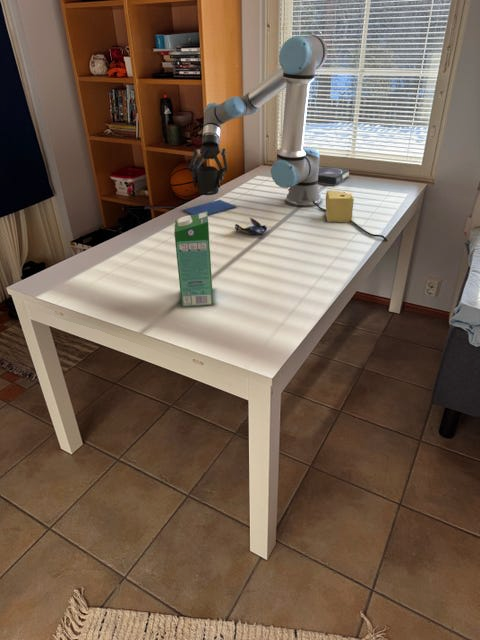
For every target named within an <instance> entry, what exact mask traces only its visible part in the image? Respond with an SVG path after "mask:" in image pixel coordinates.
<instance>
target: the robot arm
mask: <svg viewBox="0 0 480 640" xmlns="http://www.w3.org/2000/svg"><path fill="white" fill-rule="evenodd" d="M278 53H279V54H278V62H279V66H280V67H279V68H278V69H277V70H275V71H274V72H273V73H272V74H270V75H269V76H268V77H266V78H265V79H264V80H263V81H261V82H260V83H259V84H257V85H256V86H255V87H253V88H252V89H251V90H250V91H249V92H247V93H246V94H244V95H243V96H240V97H239V96H237V95H234V96H231V97H229V98H227V99H226V100H224V101H223V102H221V103H217V102H210V103H208V104H207V105H206V106H205V110H204V113H203V114H204V115H203V116H204V117H203V127H202V139H201V147H200V148H198V149H197V148H196V147H195V148H193V155H192V156H191V160H190V162H189V165H188V170H189V172H190V173H191V177H192V180H193V187H194V188H198V183H197V174H196V169H197V168H199V167H202V165H203V163H204V162H205V161H206V160H214V161H215V163H216V165H217V167H218V170H219V171H218V182H217V185H218V188H221V182H222V181H223V180H224V174H225V173H228V172H229V169H228V164H227V163H228V162H227V158H226V155H227V151H226V148H222V149H220V141H221V140H220V139H221V129H222V125H224V124H225V123H227V122H230V121H231V120H234V119H238V118H241V117H245V116H250V115H252V114H253V115H254V114H255V113H257V112H258V111H259V108H260V107H261V106H263V105H264V104H266V103H267V102H269V101H270V100H271V99H273V98H274V97H276V96H277V95H278V94H280V93H281V92H283V91H284V90H285V97H284V112H283V124H282V133H281V134H282V135H281V147H280V148H279V149H278V150H277V151H276V159H275V161H274V163H273V164H272V165H271V167H270V176H271V180H272V181H273V182H274V183H275V184H276V186H277V187H280V188H283V189H288V191H287V192H288V193H287V195H286V203H287V204H289V205H291V206H296V207H313V206H316V207H317V208H318V209H320V210H321V211H322V212H326V208H323V207H321V206H320V205H319V204H320V203H321V202H322V201H321V200H322V199H321V198H322V197H321V194H320V189H319V185H318V184H319V183H318V170H319V166H320V158H321V157H320V151H319V149H316V148H313V147H311V148H310V147H303V146H304V138H305V128H306V121H307V111H308V101H309V92H310V85H311V83H312V82H313V81H314V80H315V74H316V71H317V70H319V69H320V68H321V67H322V66H323V65H324V64H325V62H326V61H327V58H328V46H327V42H326V41H325V40H324V39H323V37H321V36H319V35H316V34H310V35H295V36H292V37H289V38H288V39H287V40H285V41H284V42H283V44H282V46H281V48H280V50H279V52H278ZM219 154H220V155H221V156H222V163H223V166H224V167H223V166H222V164H221V162H220V160H219V158H218V155H219ZM199 155H200V157H199V159H198V156H199ZM349 223H351V224H352V225H354V226H355V227H357V229H359V230H361V231H362V232H363V233H365V234H367V235H368V236H371V237H379V238H382V239H383V240H384V241H385V242H388V239H387V237H386V236H384V235H382V234H374V233H371V232H369V231H367V230H366V229H364V228H363V227H362V226H359V224H357V223H356V222H354V221H353V220H350V222H349Z"/></svg>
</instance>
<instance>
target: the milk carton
mask: <svg viewBox="0 0 480 640" xmlns="http://www.w3.org/2000/svg"><path fill="white" fill-rule="evenodd" d="M173 233H174V234H173V235H174V243H175V253H176V262H177V272H178V282H179V292H180V301H181V307H196V306H197V307H198V306H199V307H200V306H212V305H214V294H213V293H214V292H213V277H212V262H211V261H212V260H211V243H210V229H209V215H208V213H207V211H206V212H202V213H199V214H196V215H185V216H182V217H180V218H178V219H176V220H175V222H174V231H173Z"/></svg>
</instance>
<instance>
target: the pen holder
mask: <svg viewBox="0 0 480 640" xmlns="http://www.w3.org/2000/svg"><path fill="white" fill-rule="evenodd" d="M219 170H220V169H218V168H217V167H215V166H214V165H213V166H212V165H206V166H205V165H204V166H200V167H199V168H197V169H196V174H197V191H198V194H199V195H202V196H214V195H217V194H218V193H219V188H218V185H217V182H218V171H219Z"/></svg>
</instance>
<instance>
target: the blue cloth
mask: <svg viewBox="0 0 480 640" xmlns="http://www.w3.org/2000/svg"><path fill="white" fill-rule="evenodd" d="M235 208H237V206H236V205H234V204H231V203H228V202H226V201H223V200H221V199H218V200H215V201H210V202H207V203H204V204H199V205H196V206H191V207H188V208H185V209H182V211H183V212H185V213H187V214H189V215H190V216H192V215H196V214H199V213H202V212H206V211H207V213H208V216H210V215H215V214H218V213H222V212H225V211H229V210H232V209H235Z"/></svg>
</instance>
